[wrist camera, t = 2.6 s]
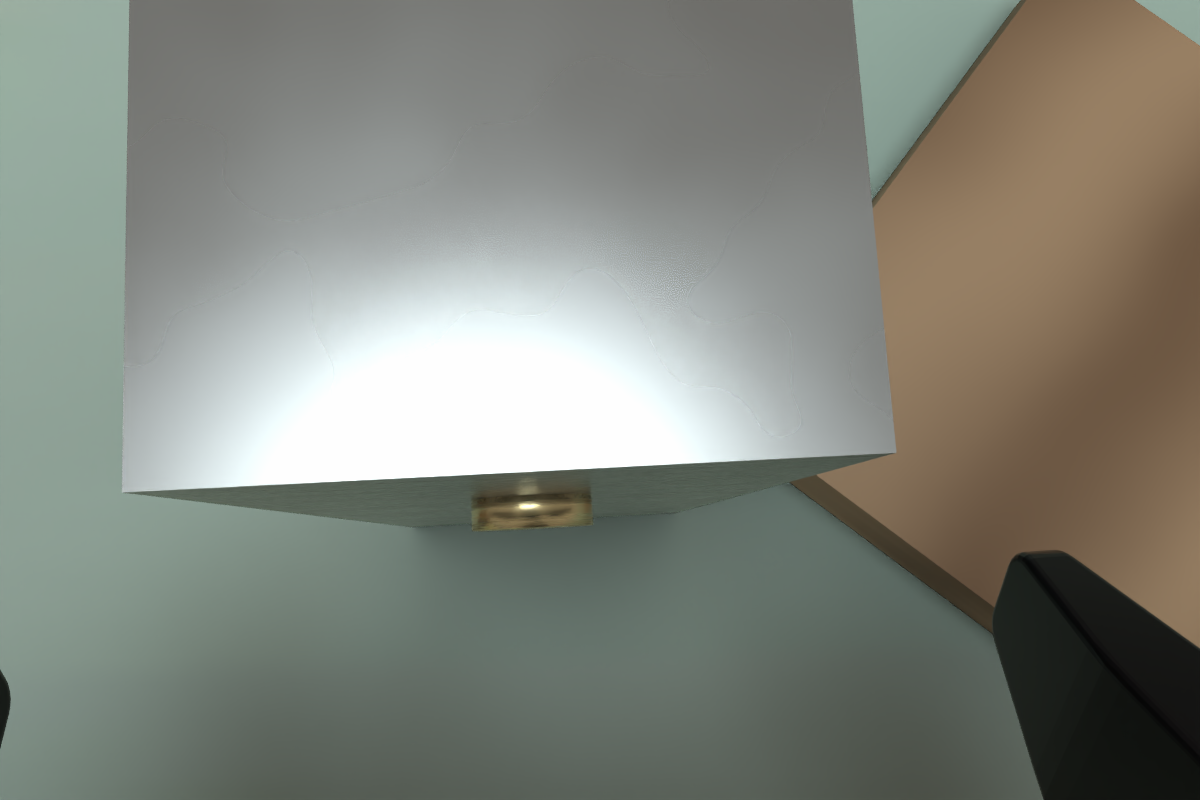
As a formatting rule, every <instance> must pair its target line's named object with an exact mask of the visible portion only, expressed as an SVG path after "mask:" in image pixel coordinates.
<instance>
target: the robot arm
mask: <svg viewBox="0 0 1200 800" xmlns="http://www.w3.org/2000/svg"><path fill="white" fill-rule="evenodd" d="M992 631H993V637H994V641H995V644H996V647H997V651H998V654H999V657H1000V661H1001V664H1002V667H1003V670H1004V674H1005V677H1006V680H1007V683H1008V687H1009V690H1010V693H1011V697H1012V700H1013V703H1014V706H1015V710H1016V713H1017V716H1018V719H1019V723H1020V726H1021V729H1022V733H1023V736H1024V739H1025V742H1026V746H1027V749H1028V752H1029V756H1030V759H1031V762H1032V765H1033V769H1034V772H1035V775H1036V778H1037V781H1038V784H1039V787H1040V790H1041V793H1042V796H1043V799H1044V800H1200V648H1199V647H1198V646H1196V645H1195V644H1193V643H1192V642H1191V641H1189V640H1188V639H1187V638H1185V637H1184V636H1182V635H1181V634H1180V633H1178V632H1177V631H1175V630H1174V629H1173V628H1171V627H1170V626H1169V625H1167V624H1166V623H1164V622H1163V621H1162V620H1160V619H1159V618H1157V617H1156V616H1155V615H1153V614H1152V613H1150V612H1149V611H1148V610H1146V609H1145V608H1144V607H1142V606H1141V605H1139V604H1138V603H1137V602H1135V601H1134V600H1132V599H1131V598H1130V597H1128V596H1127V595H1125V594H1124V593H1123V592H1121V591H1120V590H1119V589H1117V588H1116V587H1114V586H1113V585H1112V584H1110V583H1109V582H1107V581H1106V580H1105V579H1103V578H1102V577H1100V576H1099V575H1098V574H1096V573H1095V572H1094V571H1092V570H1091V569H1089V568H1088V567H1087V566H1085V565H1084V564H1082V563H1081V562H1080V561H1078V560H1077V559H1076V558H1074V557H1073V556H1071V555H1069V554H1068V553H1066V552H1063V551H1060V550H1043V551H1028V552H1021V553H1017V554H1016V555H1015V556H1014V557H1013V558H1012V559H1011V561H1010V563H1009V565H1008V568H1007V571H1006V574H1005V577H1004V580H1003V583H1002V586H1001V589H1000V592H999V595H998V598H997V601H996V604H995V607H994V611H993V615H992ZM10 700H11V699H10V690H9V686H8V683H7V681H6V679H5V677H4V675H3V674H2V672H1V670H0V748H1V744H2V740H3V736H4V732H5V727H6V723H7V719H8V715H9V710H10Z"/></svg>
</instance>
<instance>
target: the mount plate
mask: <svg viewBox="0 0 1200 800" xmlns="http://www.w3.org/2000/svg"><path fill="white" fill-rule="evenodd" d="M872 208H873V218H874V228H875V238H876V248H877V259H878V269H879V279H880V289H881V300H882V310H883V320H884V330H885V340H886V351H887V361H888V371H889V381H890V392H891V402H892V412H893V422H894V432H895V443H896V453H894V454H890V455H887V456H883V457H879V458H876V459H872V460H868V461H865V462H861V463H857V464H854V465H850V466H846V467H843V468H839V469H835V470H832V471H828V472H824V473H821V474H817V475H813V476H810V477H806V478H802V479H799V480H795V481H791V482H790V483H791V484H793V485H794V486H795V487H797V488H798V489H799V490H801V491H802V492H803V493H805V494H806V495H807V496H809V497H810V498H811V499H813V500H814V501H815V502H817V503H818V504H819V505H821V506H822V507H823V508H825V509H826V510H827V511H829V512H830V513H831V514H833V515H834V516H835V517H837V518H838V519H839V520H841V521H842V522H844V523H845V524H846V525H848V526H849V527H850V528H852V529H853V530H854V531H856V532H857V533H858V534H860V535H861V536H862V537H864V538H865V539H866V540H868V541H869V542H870V543H872V544H873V545H874V546H876V547H877V548H878V549H880V550H881V551H882V552H884V553H885V554H886V555H888V556H889V557H890V558H892V559H893V560H895V561H896V562H897V563H899V564H900V565H901V566H903V567H904V568H905V569H907V570H908V571H909V572H911V573H912V574H913V575H915V576H916V577H917V578H919V579H920V580H921V581H923V582H924V583H925V584H927V585H928V586H929V587H931V588H932V589H933V590H935V591H936V592H937V593H939V594H940V595H942V596H943V597H944V598H946V599H947V600H948V601H950V602H951V603H952V604H954V605H955V606H956V607H958V608H959V609H960V610H962V611H963V612H964V613H966V614H967V615H968V616H970V617H971V618H972V619H974V620H975V621H976V622H978V623H979V624H980V625H982V626H983V627H984V628H986V629H987V630H988V631H990V632H991V633H993V631H992V615H993V611H994V607H995V604H996V601H997V598H998V595H999V592H1000V589H1001V586H1002V583H1003V580H1004V577H1005V574H1006V571H1007V568H1008V565H1009V563H1010V561H1011V559H1012V558H1013V557H1014V556H1015V555H1016V554H1017V553H1021V552H1028V551H1043V550H1060V551H1063V552H1066V553H1068V554H1069V555H1071V556H1073V557H1074V558H1076V559H1077V560H1078V561H1080V562H1081V563H1082V564H1084V565H1085V566H1087V567H1088V568H1089V569H1091V570H1092V571H1094V572H1095V573H1096V574H1098V575H1099V576H1100V577H1102V578H1103V579H1105V580H1106V581H1107V582H1109V583H1110V584H1112V585H1113V586H1114V587H1116V588H1117V589H1119V590H1120V591H1121V592H1123V593H1124V594H1125V595H1127V596H1128V597H1130V598H1131V599H1132V600H1134V601H1135V602H1137V603H1138V604H1139V605H1141V606H1142V607H1144V608H1145V609H1146V610H1148V611H1149V612H1150V613H1152V614H1153V615H1155V616H1156V617H1157V618H1159V619H1160V620H1162V621H1163V622H1164V623H1166V624H1167V625H1169V626H1170V627H1171V628H1173V629H1174V630H1175V631H1177V632H1178V633H1180V634H1181V635H1182V636H1184V637H1185V638H1187V639H1188V640H1189V641H1191V642H1192V643H1193V644H1195V645H1196V646H1198V647H1199V648H1200V46H1199V45H1198V44H1197V43H1195V42H1194V41H1192V40H1191V39H1189V38H1188V37H1186V36H1185V35H1184V34H1182V33H1181V32H1179V31H1178V30H1176V29H1175V28H1174V27H1172V26H1171V25H1169V24H1168V23H1166V22H1165V21H1163V20H1162V19H1161V18H1159V17H1158V16H1156V15H1155V14H1153V13H1152V12H1151V11H1149V10H1148V9H1146V8H1145V7H1143V6H1142V5H1140V4H1139V3H1138V2H1136V1H1135V0H1021V1H1020V2H1019V3H1018V4H1017V6H1016V7H1015V8H1014V9H1013V11H1012V12H1011V13H1010V15H1009V16H1008V17H1007V19H1006V20H1005V21H1004V23H1003V24H1002V26H1001V27H1000V28H999V30H998V31H997V32H996V34H995V35H994V36H993V38H992V39H991V40H990V42H989V43H988V45H987V46H986V47H985V49H984V50H983V51H982V53H981V54H980V55H979V57H978V58H977V59H976V61H975V62H974V63H973V65H972V66H971V68H970V69H969V70H968V72H967V73H966V74H965V76H964V77H963V78H962V80H961V81H960V82H959V84H958V85H957V86H956V88H955V89H954V91H953V92H952V93H951V95H950V96H949V97H948V99H947V100H946V101H945V103H944V104H943V105H942V107H941V108H940V109H939V111H938V112H937V114H936V115H935V116H934V118H933V119H932V120H931V122H930V123H929V124H928V126H927V127H926V128H925V130H924V131H923V132H922V134H921V135H920V137H919V138H918V139H917V141H916V142H915V143H914V145H913V146H912V147H911V149H910V150H909V151H908V153H907V154H906V156H905V157H904V158H903V160H902V161H901V162H900V164H899V165H898V166H897V168H896V169H895V170H894V172H893V173H892V174H891V176H890V177H889V179H888V180H887V181H886V183H885V184H884V185H883V187H882V188H881V189H880V191H879V192H878V193H877V195H876V196H875V197H874V199H873V200H872Z"/></svg>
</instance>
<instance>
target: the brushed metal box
mask: <svg viewBox="0 0 1200 800" xmlns="http://www.w3.org/2000/svg"><path fill="white" fill-rule="evenodd" d="M894 453H896V443H895V432H894V422H893V412H892V402H891V392H890V381H889V371H888V361H887V351H886V340H885V330H884V320H883V310H882V300H881V289H880V279H879V269H878V259H877V248H876V238H875V228H874V218H873V208H872V197H871V187H870V177H869V167H868V156H867V146H866V136H865V126H864V116H863V105H862V95H861V85H860V75H859V64H858V54H857V44H856V34H855V24H854V13H853V3H852V0H130V3H129V68H128V132H127V197H126V261H125V326H124V390H123V455H122V493H130V494H139V495H147V496H156V497H164V498H172V499H181V500H189V501H197V502H206V503H214V504H222V505H231V506H239V507H247V508H256V509H264V510H272V511H281V512H289V513H297V514H306V515H314V516H323V517H331V518H339V519H348V520H356V521H364V522H373V523H381V524H389V525H398V526H406V527H427V526H445V525H464V524H472V531H505V530H526V529H544V528H561V527H576V526H588V525H593V518H595V517H613V516H632V515H651V514H669V513H678V512H681V511H685V510H689V509H692V508H696V507H700V506H703V505H707V504H711V503H714V502H718V501H722V500H725V499H729V498H733V497H736V496H740V495H744V494H747V493H751V492H755V491H758V490H762V489H766V488H769V487H773V486H777V485H780V484H784V483H788V482H791V481H795V480H799V479H802V478H806V477H810V476H813V475H817V474H821V473H824V472H828V471H832V470H835V469H839V468H843V467H846V466H850V465H854V464H857V463H861V462H865V461H868V460H872V459H876V458H879V457H883V456H887V455H890V454H894Z"/></svg>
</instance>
